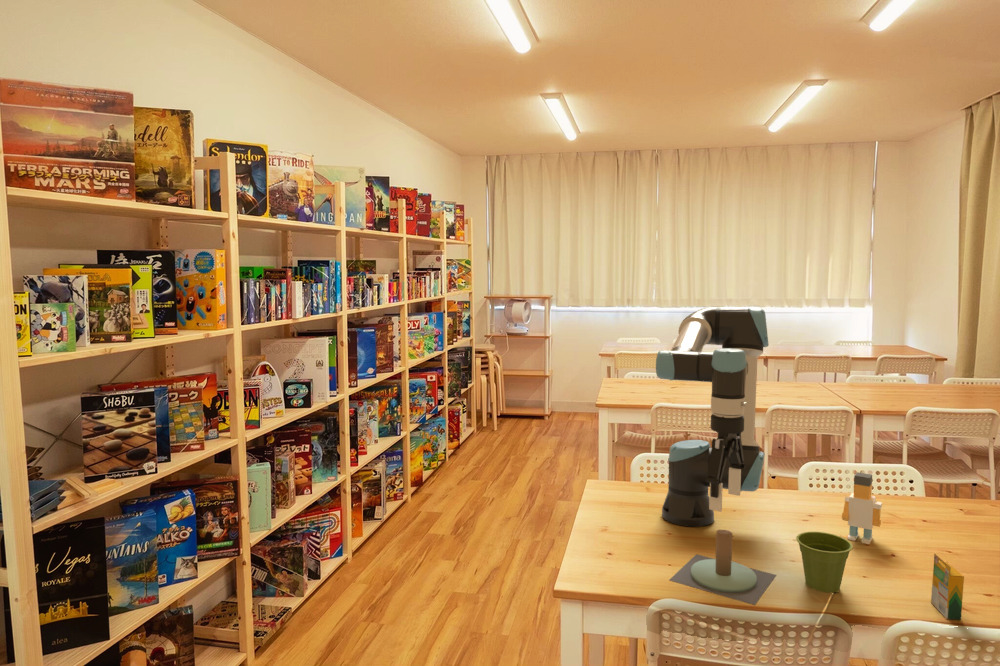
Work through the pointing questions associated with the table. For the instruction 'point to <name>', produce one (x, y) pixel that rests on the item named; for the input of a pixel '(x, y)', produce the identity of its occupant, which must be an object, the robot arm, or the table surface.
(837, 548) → the plant pot
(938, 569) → the crayon box
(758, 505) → the table surface
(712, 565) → the lid
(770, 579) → the mat
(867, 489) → the character figure
